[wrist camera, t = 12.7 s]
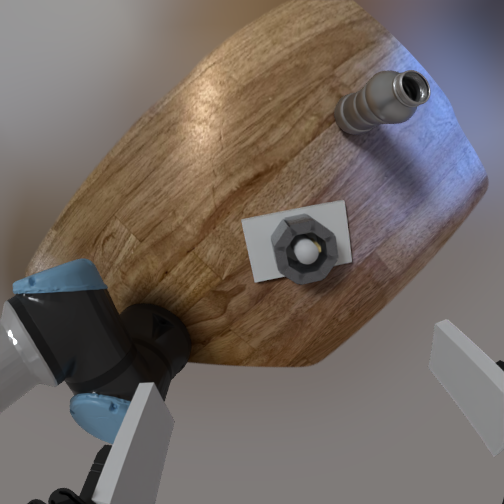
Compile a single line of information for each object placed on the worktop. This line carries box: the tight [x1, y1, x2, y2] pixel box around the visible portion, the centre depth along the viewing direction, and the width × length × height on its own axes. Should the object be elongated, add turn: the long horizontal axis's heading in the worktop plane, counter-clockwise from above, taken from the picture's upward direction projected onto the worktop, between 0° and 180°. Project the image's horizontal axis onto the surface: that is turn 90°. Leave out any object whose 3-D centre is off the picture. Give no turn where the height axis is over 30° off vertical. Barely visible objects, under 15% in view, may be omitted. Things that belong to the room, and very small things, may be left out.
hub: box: [271, 214, 338, 285], centre depth 42 cm, size 8×8×6 cm
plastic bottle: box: [334, 70, 430, 135], centre depth 31 cm, size 6×7×20 cm
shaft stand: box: [241, 200, 352, 282], centre depth 42 cm, size 16×10×8 cm, turn 102°
